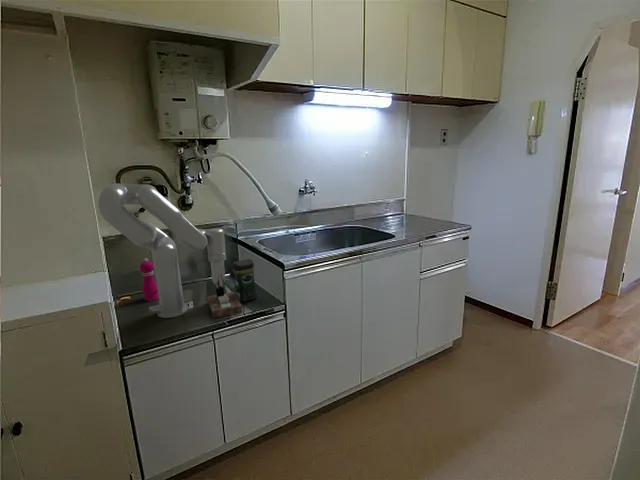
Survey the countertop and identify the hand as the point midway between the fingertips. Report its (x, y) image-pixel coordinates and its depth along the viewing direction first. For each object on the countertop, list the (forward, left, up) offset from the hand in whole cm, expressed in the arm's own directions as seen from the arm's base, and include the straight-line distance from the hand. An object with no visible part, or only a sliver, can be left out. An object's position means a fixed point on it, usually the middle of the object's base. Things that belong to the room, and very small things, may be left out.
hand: (220, 295), depth 168 cm
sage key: (+1, -11, -3) cm, 11 cm away
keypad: (+1, -5, -4) cm, 7 cm away
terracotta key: (+1, 0, -3) cm, 3 cm away
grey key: (+1, -5, -2) cm, 6 cm away
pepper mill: (-29, +22, -4) cm, 37 cm away
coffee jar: (+11, 0, -4) cm, 12 cm away
